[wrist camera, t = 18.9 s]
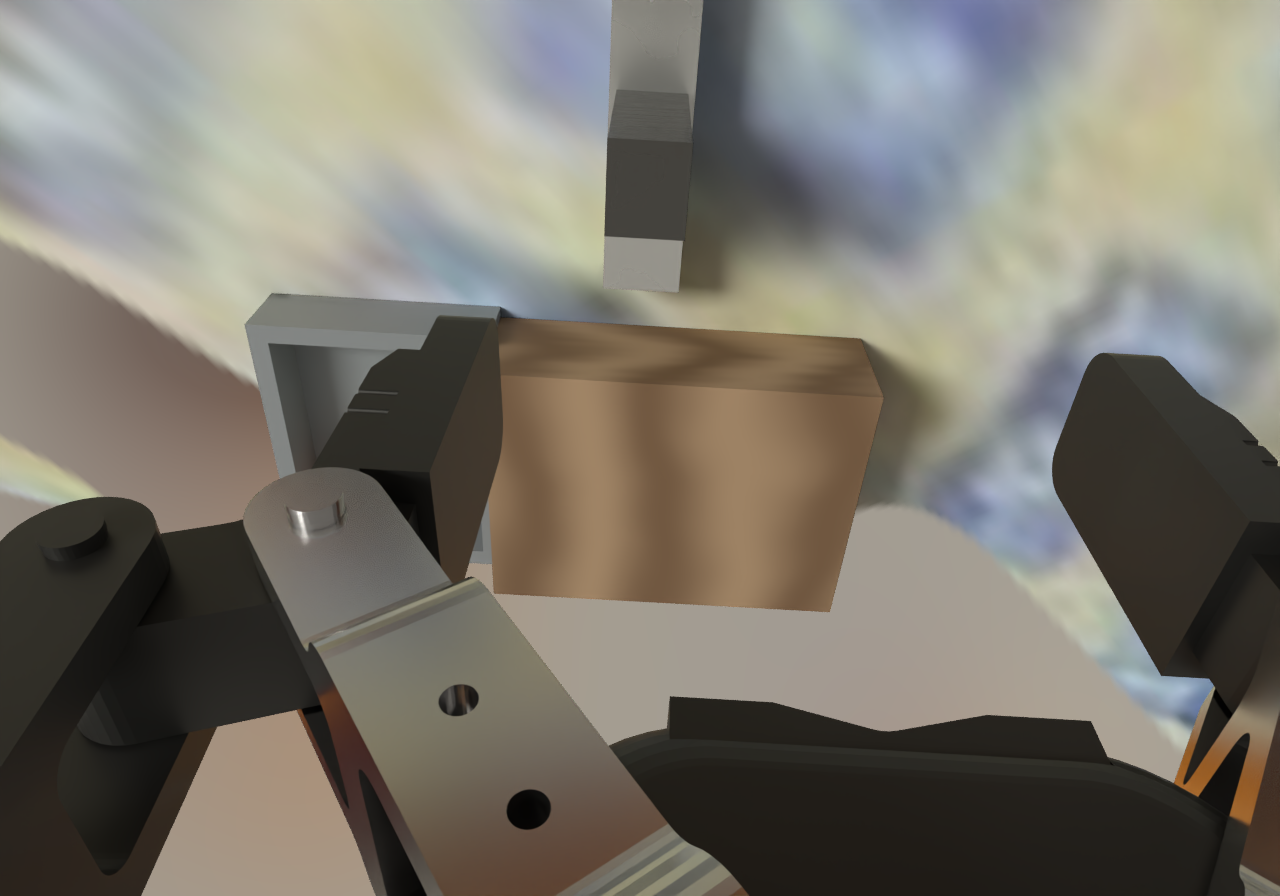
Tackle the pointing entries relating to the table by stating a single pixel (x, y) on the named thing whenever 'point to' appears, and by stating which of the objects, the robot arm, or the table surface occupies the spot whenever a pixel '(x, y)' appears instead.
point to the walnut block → (678, 463)
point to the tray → (334, 367)
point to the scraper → (649, 141)
